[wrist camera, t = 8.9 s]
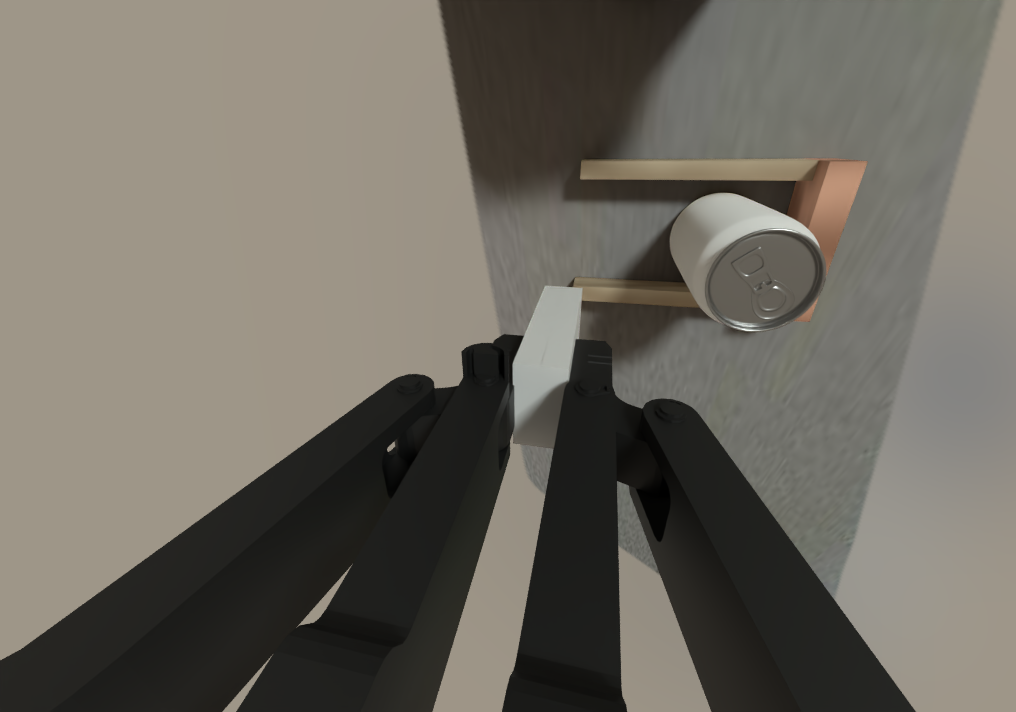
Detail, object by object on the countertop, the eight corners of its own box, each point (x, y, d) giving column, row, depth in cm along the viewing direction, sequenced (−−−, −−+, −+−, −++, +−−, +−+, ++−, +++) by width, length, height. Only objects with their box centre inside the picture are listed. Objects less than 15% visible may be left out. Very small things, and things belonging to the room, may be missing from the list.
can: (693, 291, 34) (731, 359, 24) (652, 227, 32) (673, 269, 22) (775, 244, 31) (859, 298, 21) (734, 171, 29) (803, 190, 19)
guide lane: (583, 159, 31) (580, 161, 28) (835, 158, 28) (867, 161, 24) (574, 290, 36) (570, 306, 33) (788, 302, 33) (809, 321, 29)
